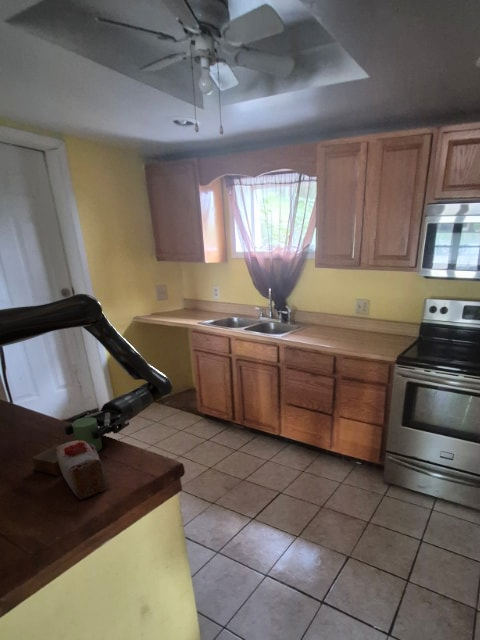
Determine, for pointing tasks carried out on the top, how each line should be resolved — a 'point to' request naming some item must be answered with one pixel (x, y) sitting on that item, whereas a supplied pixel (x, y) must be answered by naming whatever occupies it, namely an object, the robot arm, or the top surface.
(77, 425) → the green tin
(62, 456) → the food item
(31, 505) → the top surface
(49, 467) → the walnut block
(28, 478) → the top surface
